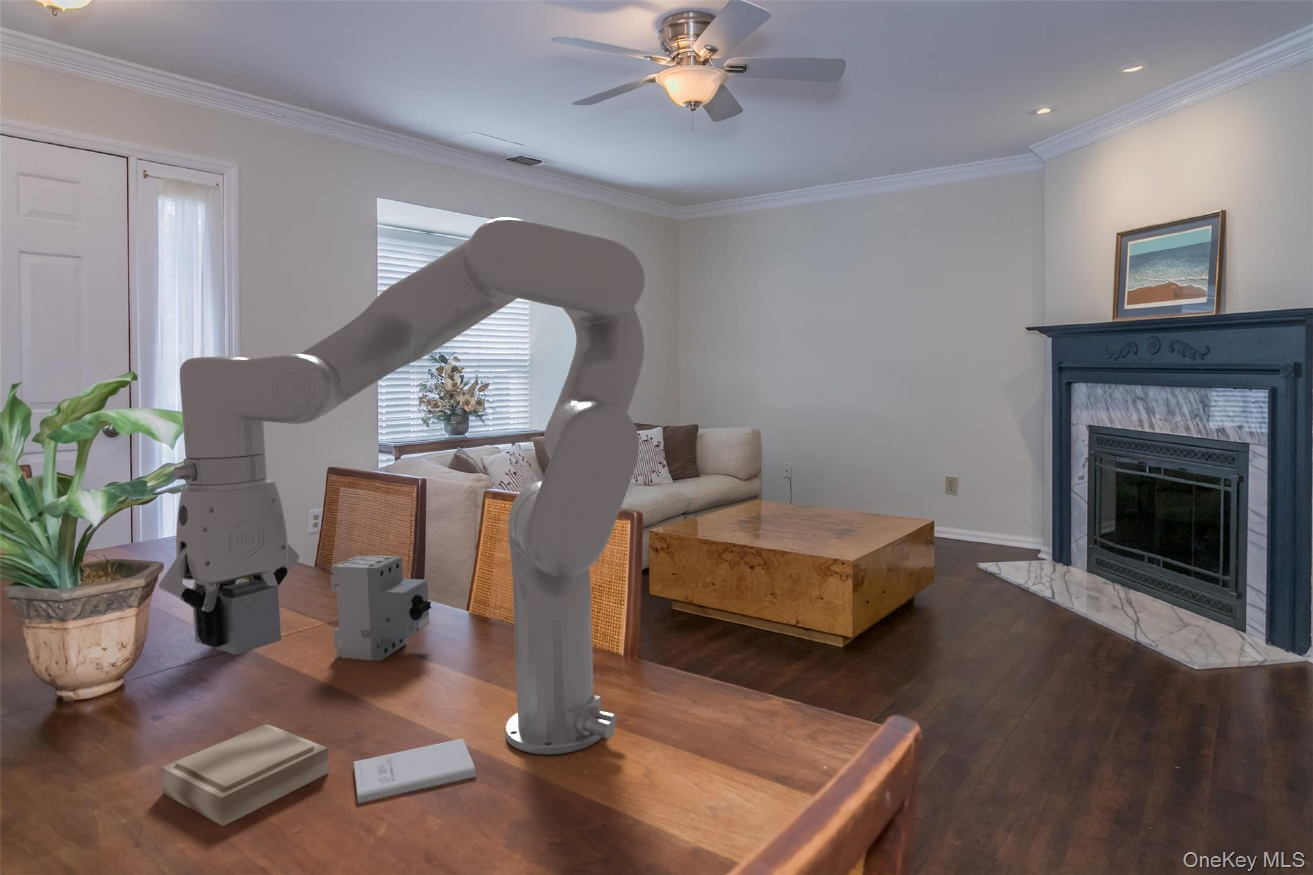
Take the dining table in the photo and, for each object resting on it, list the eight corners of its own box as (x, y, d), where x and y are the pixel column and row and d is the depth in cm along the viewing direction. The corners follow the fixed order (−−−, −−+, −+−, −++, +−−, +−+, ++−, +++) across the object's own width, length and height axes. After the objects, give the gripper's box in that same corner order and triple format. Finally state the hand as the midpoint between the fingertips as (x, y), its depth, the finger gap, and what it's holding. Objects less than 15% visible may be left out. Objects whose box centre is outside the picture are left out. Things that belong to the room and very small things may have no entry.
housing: (281, 640, 85) (277, 579, 85) (236, 654, 81) (231, 590, 80) (240, 628, 89) (236, 570, 89) (195, 641, 85) (191, 581, 85)
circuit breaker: (416, 663, 122) (412, 569, 120) (335, 658, 124) (330, 566, 123) (439, 646, 129) (435, 557, 128) (362, 641, 132) (357, 555, 130)
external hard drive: (476, 781, 87) (357, 808, 82) (463, 749, 95) (353, 772, 90) (475, 767, 87) (357, 793, 82) (462, 736, 94) (353, 758, 89)
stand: (328, 772, 88) (327, 744, 88) (223, 826, 78) (220, 793, 78) (268, 747, 95) (266, 720, 94) (163, 793, 85) (160, 763, 84)
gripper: (159, 485, 74) (173, 669, 76) (319, 464, 89) (328, 620, 90) (122, 480, 78) (136, 655, 80) (281, 461, 93) (290, 610, 94)
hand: (238, 634), depth 85 cm, fingers closed on housing, 5 cm apart
